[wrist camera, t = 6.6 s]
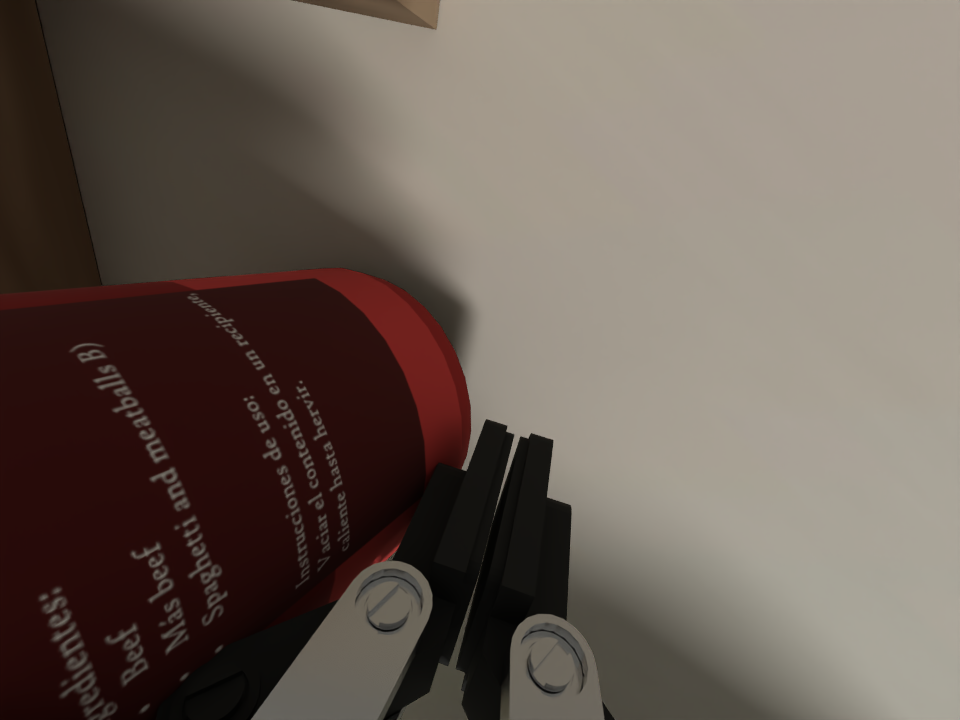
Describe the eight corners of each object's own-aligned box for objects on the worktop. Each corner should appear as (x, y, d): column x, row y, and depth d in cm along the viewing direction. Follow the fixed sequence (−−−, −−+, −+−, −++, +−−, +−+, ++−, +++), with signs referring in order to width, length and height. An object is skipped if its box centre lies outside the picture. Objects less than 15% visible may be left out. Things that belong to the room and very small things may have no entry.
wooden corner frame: (443, -29, 9) (346, -140, 6) (369, 586, 19) (318, 684, 16) (-26, -116, 10) (-337, -247, 7) (134, 498, 20) (39, 571, 17)
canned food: (271, 432, 16) (-358, 701, 7) (301, 219, 12) (-907, 181, 3) (431, 566, 13) (-236, 1293, 4) (526, 345, 10) (-2208, 1795, 1)
